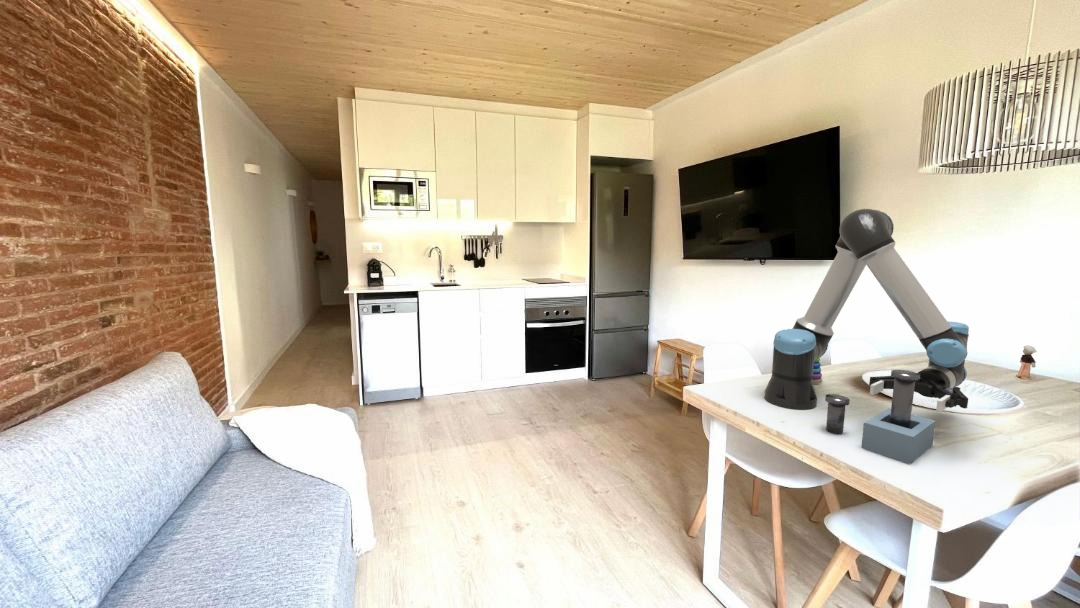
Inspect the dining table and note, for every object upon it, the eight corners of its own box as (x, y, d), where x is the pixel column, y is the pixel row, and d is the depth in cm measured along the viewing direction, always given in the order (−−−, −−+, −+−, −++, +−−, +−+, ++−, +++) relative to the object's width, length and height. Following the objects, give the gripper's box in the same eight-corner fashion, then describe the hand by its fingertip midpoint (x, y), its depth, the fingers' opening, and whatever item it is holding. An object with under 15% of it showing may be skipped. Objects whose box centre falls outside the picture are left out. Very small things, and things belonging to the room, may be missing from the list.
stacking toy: (812, 377, 166) (816, 330, 163) (826, 384, 158) (831, 335, 155) (792, 378, 166) (796, 330, 163) (805, 385, 158) (810, 335, 155)
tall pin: (878, 441, 115) (886, 369, 112) (902, 442, 114) (911, 370, 111) (890, 451, 109) (899, 375, 106) (916, 453, 108) (925, 376, 105)
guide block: (885, 431, 120) (888, 408, 119) (932, 445, 112) (935, 420, 111) (861, 447, 111) (863, 422, 110) (909, 464, 103) (913, 437, 102)
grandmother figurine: (1009, 374, 166) (1014, 342, 164) (1021, 375, 165) (1026, 343, 163) (1027, 381, 158) (1032, 348, 156) (1039, 382, 157) (1045, 348, 155)
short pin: (819, 426, 124) (821, 393, 123) (840, 427, 123) (843, 394, 121) (827, 435, 119) (830, 400, 117) (850, 436, 118) (853, 402, 116)
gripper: (994, 408, 110) (968, 429, 99) (878, 382, 131) (846, 397, 120) (998, 380, 109) (973, 398, 98) (880, 358, 130) (848, 371, 119)
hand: (903, 397), depth 109 cm, fingers open, 13 cm apart
